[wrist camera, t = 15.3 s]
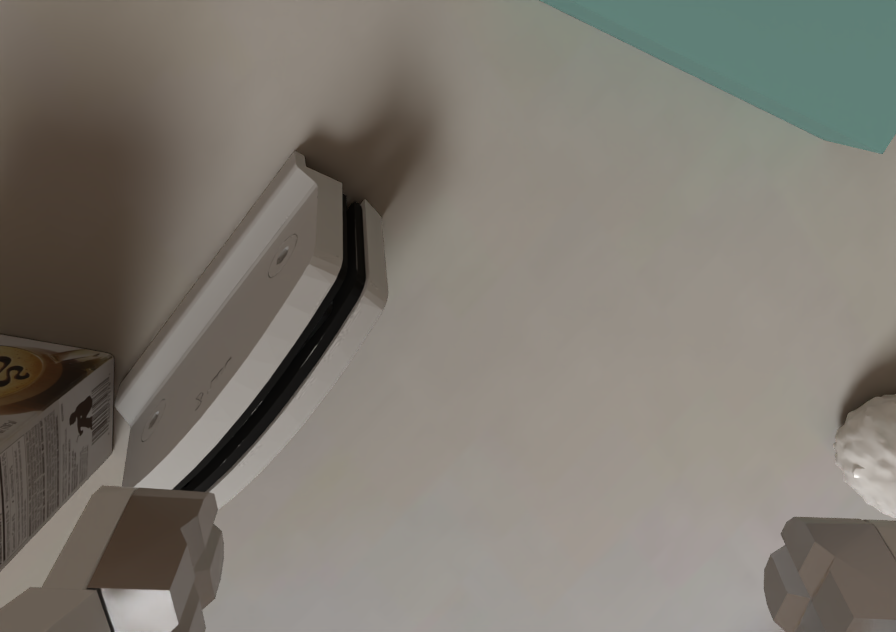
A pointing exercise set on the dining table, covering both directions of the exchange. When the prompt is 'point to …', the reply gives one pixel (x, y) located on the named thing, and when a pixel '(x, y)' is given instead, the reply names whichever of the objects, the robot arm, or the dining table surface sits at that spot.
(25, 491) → the coffee box
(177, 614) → the robot arm
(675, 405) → the dining table surface
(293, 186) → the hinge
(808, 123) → the hole block
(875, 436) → the white creature statuette
